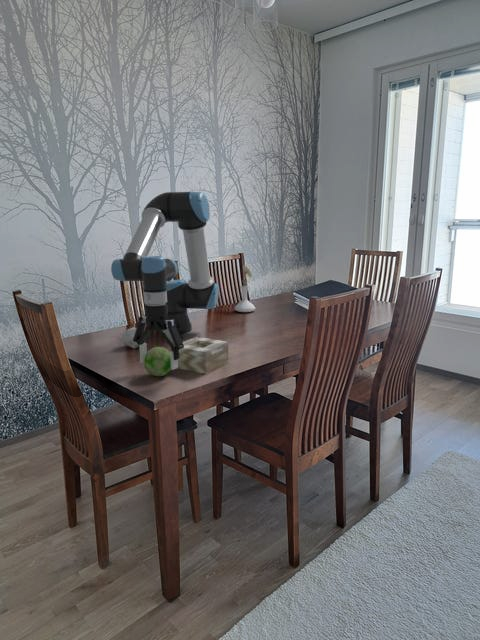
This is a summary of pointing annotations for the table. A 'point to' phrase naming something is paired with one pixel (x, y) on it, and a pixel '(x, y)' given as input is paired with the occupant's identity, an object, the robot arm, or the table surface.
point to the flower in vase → (245, 296)
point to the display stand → (203, 355)
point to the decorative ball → (158, 361)
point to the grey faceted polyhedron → (130, 338)
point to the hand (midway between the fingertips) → (158, 365)
